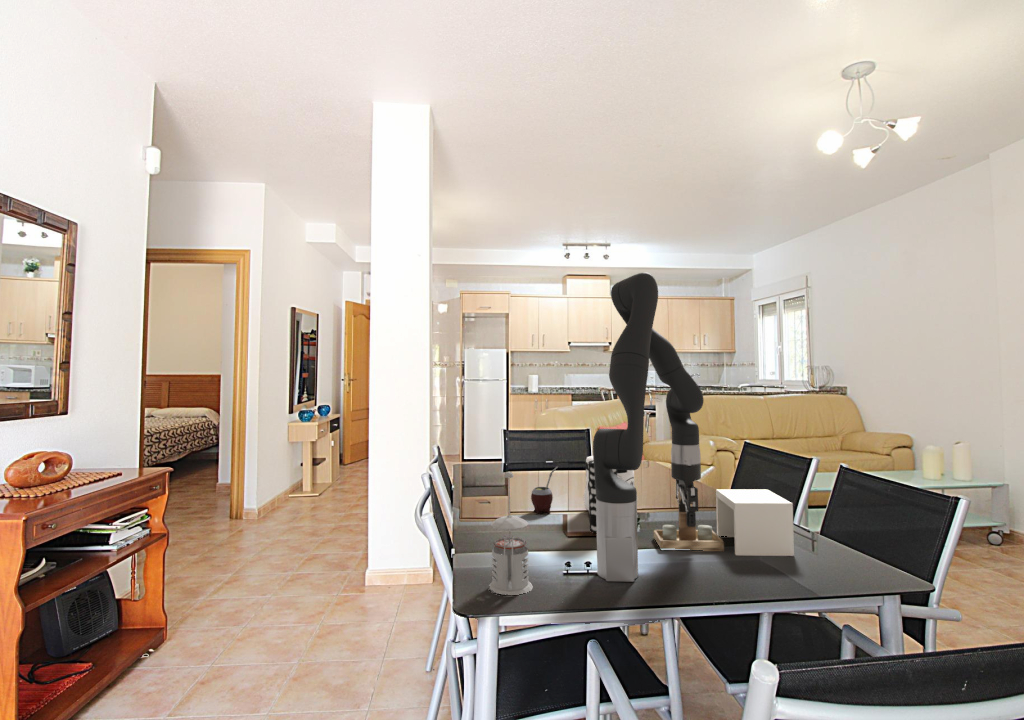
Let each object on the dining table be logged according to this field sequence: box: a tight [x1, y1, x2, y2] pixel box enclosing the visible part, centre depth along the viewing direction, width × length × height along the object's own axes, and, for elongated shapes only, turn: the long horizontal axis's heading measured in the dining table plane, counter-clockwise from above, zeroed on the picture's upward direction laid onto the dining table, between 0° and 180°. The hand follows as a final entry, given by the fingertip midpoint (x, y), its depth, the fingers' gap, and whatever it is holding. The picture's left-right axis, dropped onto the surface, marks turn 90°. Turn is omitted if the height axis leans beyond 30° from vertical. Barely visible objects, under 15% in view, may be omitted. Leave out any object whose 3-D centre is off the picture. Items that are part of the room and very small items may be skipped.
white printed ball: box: [583, 455, 636, 512], centre depth 179 cm, size 17×17×18 cm
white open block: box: [715, 488, 795, 557], centre depth 144 cm, size 16×14×13 cm
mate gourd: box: [530, 466, 559, 516], centre depth 181 cm, size 8×8×15 cm
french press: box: [488, 471, 534, 596], centre depth 118 cm, size 10×12×25 cm
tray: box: [652, 511, 725, 552], centre depth 146 cm, size 16×10×8 cm, turn 86°
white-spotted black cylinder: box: [588, 460, 617, 534], centre depth 159 cm, size 8×8×20 cm
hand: (687, 521), depth 146 cm, fingers open, 8 cm apart
